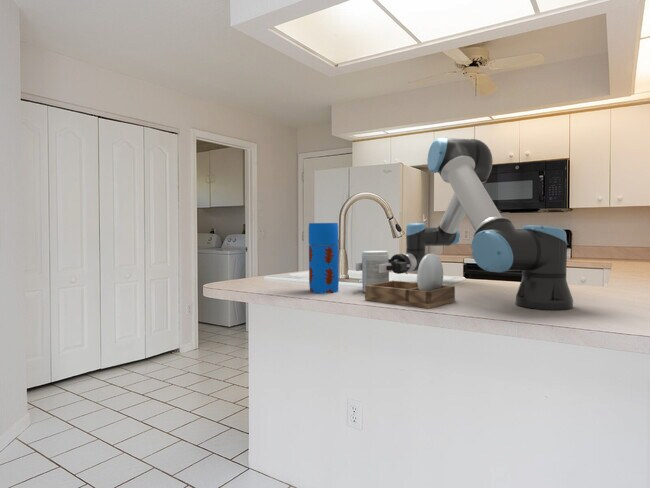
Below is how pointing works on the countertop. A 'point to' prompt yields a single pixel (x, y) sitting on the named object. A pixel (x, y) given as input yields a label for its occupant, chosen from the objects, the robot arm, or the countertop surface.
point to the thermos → (323, 257)
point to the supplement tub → (374, 267)
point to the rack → (409, 294)
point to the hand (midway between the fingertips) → (368, 267)
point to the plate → (430, 273)
